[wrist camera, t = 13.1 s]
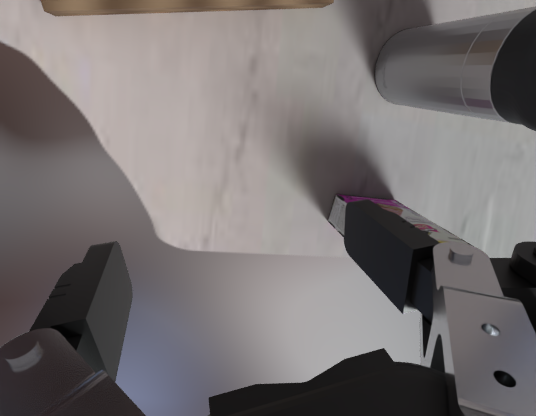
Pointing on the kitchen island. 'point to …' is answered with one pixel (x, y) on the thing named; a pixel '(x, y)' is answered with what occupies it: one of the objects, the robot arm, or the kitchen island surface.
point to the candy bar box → (393, 206)
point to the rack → (169, 6)
